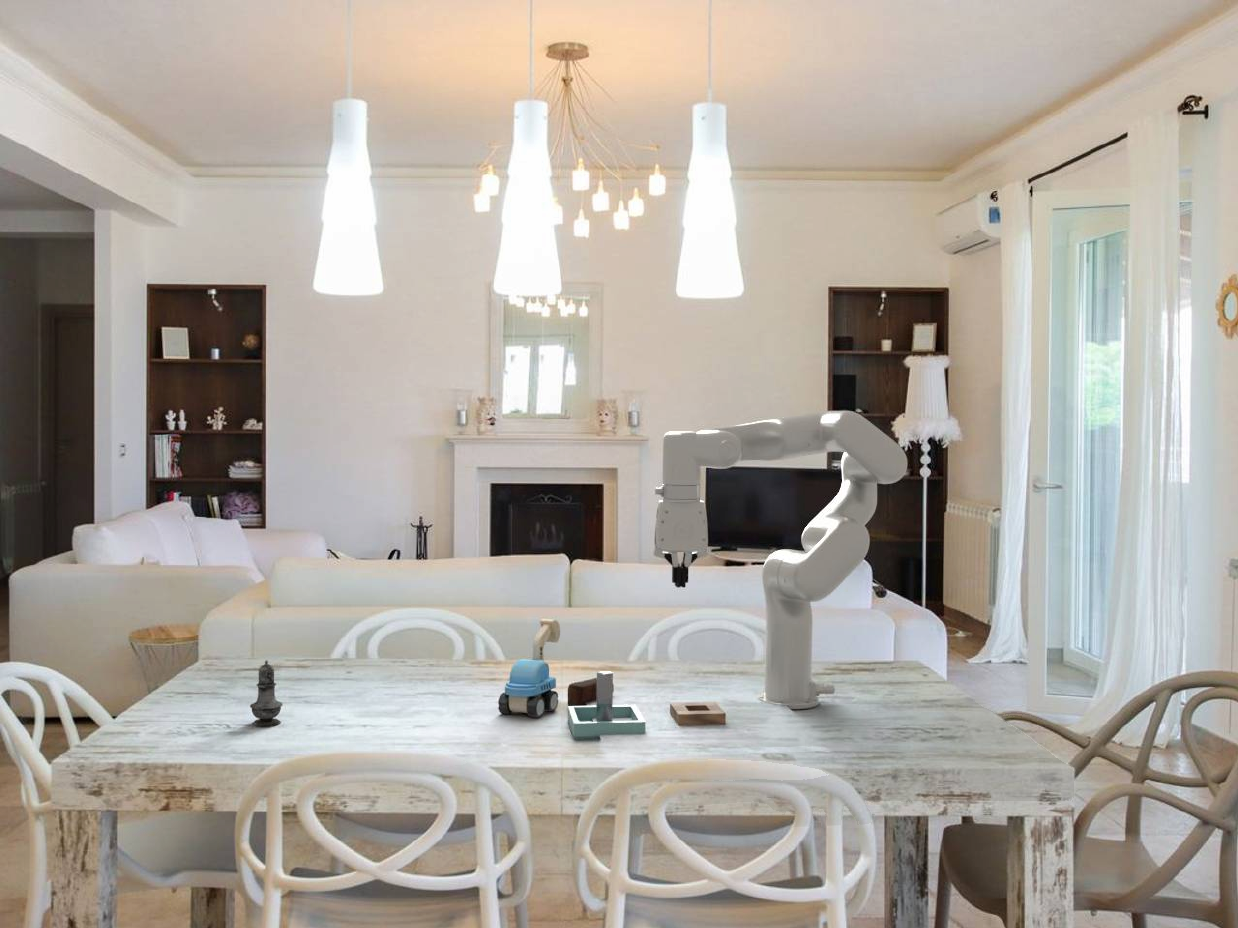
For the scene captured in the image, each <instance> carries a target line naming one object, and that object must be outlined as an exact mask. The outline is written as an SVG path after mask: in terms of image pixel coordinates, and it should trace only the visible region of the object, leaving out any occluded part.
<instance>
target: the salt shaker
mask: <svg viewBox="0 0 1238 928" xmlns="http://www.w3.org/2000/svg"><path fill="white" fill-rule="evenodd" d="M268 663H269V661H268V660H267V659H266V660H265V661H264V664H262V665H261V666H260V667H259V668H258V683H257V684H256V687H257V689H258V690H257V698H256V701H255V702H253V703H251V704H250V705H249V707H250V708H251V712H252V715H253V716H254V717H255V718H257V719H255V720H254V721H252V723H251V726H253V727H256V728H271V727H275V726H279V725H281V724H282V721H281V720H279V719H277V717H278V715H279V714H280V712H281V709H282V706H283V702H281V701H278V700H277V698H276V695H275V686H277V683H276V682H275V668H274V665H273V666H272V665H270V664H268Z"/></svg>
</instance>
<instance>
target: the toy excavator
mask: <svg viewBox="0 0 1238 928" xmlns="http://www.w3.org/2000/svg"><path fill="white" fill-rule="evenodd" d="M539 623H540V624H539V625H540V629H539V631H538V632H537V633H536V635H535V636H534V639H533V643H532V659H528V658H527V659H525V658H524V659H523V658H522V659H521V658H520V659H517V660H516V661H515V662H514V663H513V665H512V667H511V668H510V674H509V681H508V682H506V683H505V685H504V692H502V693H501V694H500V695H499V697H498V701H497V704H498V707H497V708H498V711H499V713H500V714H503V715H504V714H506V715H511V714H512V713H513V712H514V713H521V714H522V713H525V714H527V715H528V717H530V718H539V717H540V716H542V715H543V713H544V712H545V711H546V712H547V711H548V712H549V711H550V712H555V711H556V710H557V708H558V704H559V693H558V692H557V691H556V690H553V689H555V688H556V687H557V677H553V676H550V666H549V664H548V663H547V662H546V661H545V660H544V647H545V645H546V644H547V643H549V642H550V643H558V642H559V640H560V635H561V627H560V624H559V622H558V620H556V619H551V618H550V619H548V618H542V619H540V621H539Z"/></svg>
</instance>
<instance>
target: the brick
mask: <svg viewBox="0 0 1238 928" xmlns="http://www.w3.org/2000/svg"><path fill="white" fill-rule="evenodd" d="M614 686H615V685H614V684H613V693H614V691H615V689H614ZM595 701H597V677H593V678H590V679H585V680H583V681H576V682H572V683H569V684H568V687H567V707H568V706H588V705H587V704H588V703H592V702H595Z"/></svg>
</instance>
